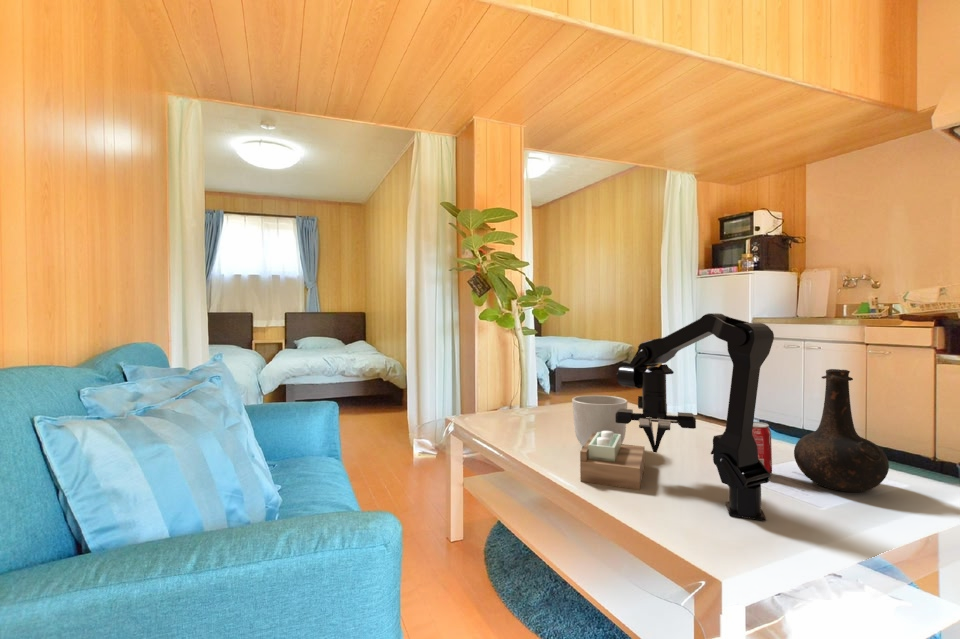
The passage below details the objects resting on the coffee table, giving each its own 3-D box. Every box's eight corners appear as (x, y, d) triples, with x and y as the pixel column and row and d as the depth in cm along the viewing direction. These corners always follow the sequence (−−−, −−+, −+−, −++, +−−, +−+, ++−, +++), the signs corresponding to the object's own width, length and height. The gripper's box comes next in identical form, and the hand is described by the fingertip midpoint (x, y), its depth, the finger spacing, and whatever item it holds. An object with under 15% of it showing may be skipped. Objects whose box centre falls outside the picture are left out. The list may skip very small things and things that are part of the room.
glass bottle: (843, 503, 96) (841, 375, 96) (776, 475, 114) (775, 366, 114) (911, 497, 99) (910, 372, 99) (835, 471, 117) (834, 365, 117)
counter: (639, 489, 105) (639, 458, 105) (580, 481, 111) (580, 451, 111) (644, 464, 123) (644, 437, 123) (593, 458, 129) (593, 432, 129)
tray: (614, 461, 110) (614, 443, 110) (588, 458, 113) (588, 440, 113) (621, 446, 123) (620, 430, 123) (597, 444, 126) (597, 428, 126)
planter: (595, 458, 129) (595, 406, 129) (561, 444, 144) (561, 397, 144) (640, 451, 136) (639, 401, 136) (603, 438, 151) (603, 393, 151)
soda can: (777, 479, 111) (776, 427, 111) (745, 477, 112) (745, 426, 113) (765, 469, 118) (764, 421, 118) (735, 468, 119) (735, 420, 119)
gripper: (693, 388, 117) (694, 447, 116) (619, 385, 124) (620, 440, 124) (695, 394, 106) (696, 459, 106) (614, 390, 114) (615, 451, 113)
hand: (655, 452), depth 113 cm, fingers closed
